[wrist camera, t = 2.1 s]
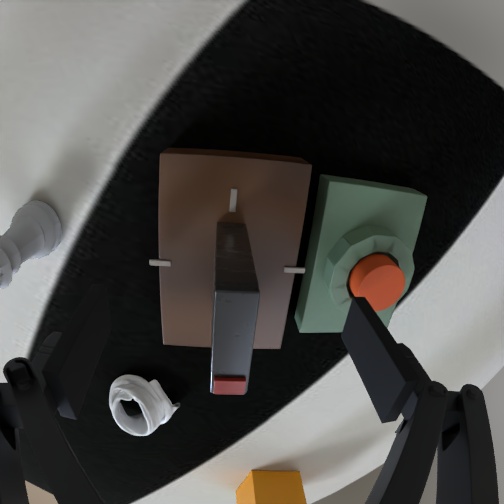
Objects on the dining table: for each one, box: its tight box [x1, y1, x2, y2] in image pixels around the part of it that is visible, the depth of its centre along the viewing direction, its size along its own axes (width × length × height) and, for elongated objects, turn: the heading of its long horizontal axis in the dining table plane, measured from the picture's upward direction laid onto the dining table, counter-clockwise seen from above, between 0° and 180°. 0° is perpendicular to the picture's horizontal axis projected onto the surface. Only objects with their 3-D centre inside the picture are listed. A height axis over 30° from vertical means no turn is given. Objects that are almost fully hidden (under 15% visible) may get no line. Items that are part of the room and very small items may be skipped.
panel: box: [149, 148, 312, 349], centre depth 22 cm, size 14×10×3 cm
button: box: [349, 254, 405, 311], centre depth 21 cm, size 4×4×2 cm
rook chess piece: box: [0, 201, 62, 288], centre depth 18 cm, size 4×4×8 cm
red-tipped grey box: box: [210, 222, 260, 395], centre depth 17 cm, size 6×2×8 cm, turn 174°
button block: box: [295, 174, 427, 333], centre depth 23 cm, size 12×8×4 cm, turn 174°
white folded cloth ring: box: [109, 375, 180, 436], centre depth 28 cm, size 8×7×5 cm
